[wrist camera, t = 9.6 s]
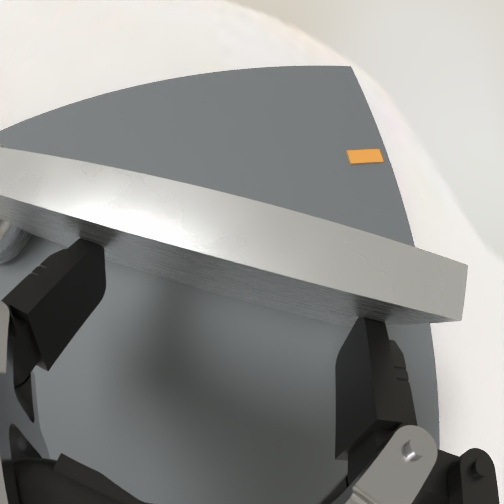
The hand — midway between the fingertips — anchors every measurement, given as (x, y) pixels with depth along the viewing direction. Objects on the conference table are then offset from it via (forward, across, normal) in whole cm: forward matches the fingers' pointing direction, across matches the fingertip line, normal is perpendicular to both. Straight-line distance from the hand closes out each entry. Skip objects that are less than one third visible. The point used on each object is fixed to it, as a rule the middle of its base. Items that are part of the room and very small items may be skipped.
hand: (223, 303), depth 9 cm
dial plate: (+2, -4, -7) cm, 8 cm away
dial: (+4, -6, -2) cm, 7 cm away
